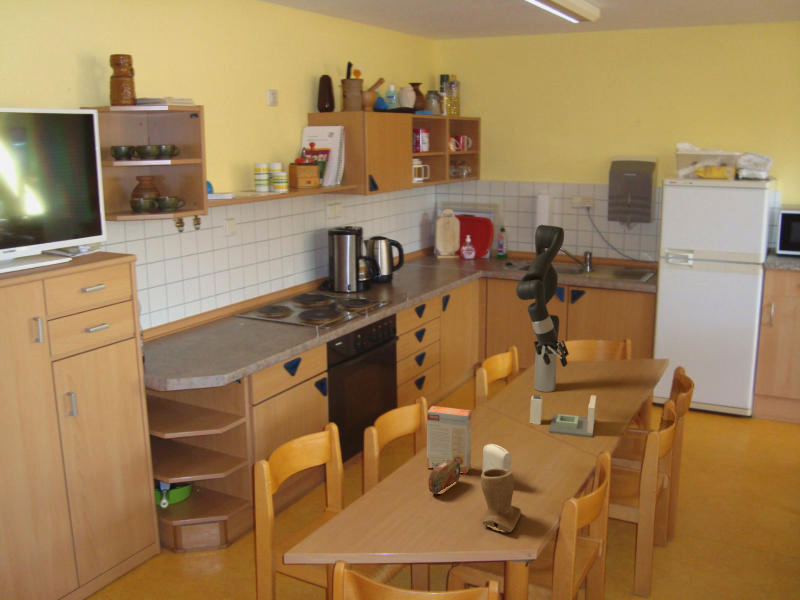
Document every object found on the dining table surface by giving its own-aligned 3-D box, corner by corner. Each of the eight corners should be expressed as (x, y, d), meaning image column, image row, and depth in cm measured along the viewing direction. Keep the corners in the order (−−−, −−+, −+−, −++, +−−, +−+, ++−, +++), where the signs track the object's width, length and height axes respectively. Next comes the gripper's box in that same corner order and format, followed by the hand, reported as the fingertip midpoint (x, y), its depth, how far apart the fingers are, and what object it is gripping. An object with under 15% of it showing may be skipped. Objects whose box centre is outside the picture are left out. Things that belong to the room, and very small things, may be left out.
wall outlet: (553, 415, 310) (554, 389, 307) (594, 420, 305) (596, 394, 303) (548, 432, 293) (550, 405, 290) (592, 437, 288) (594, 410, 286)
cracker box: (471, 467, 263) (472, 409, 259) (466, 475, 258) (468, 415, 253) (431, 461, 268) (432, 404, 263) (426, 469, 262) (426, 410, 257)
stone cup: (485, 505, 238) (487, 460, 234) (524, 512, 233) (526, 466, 230) (471, 529, 224) (472, 481, 221) (511, 537, 220) (513, 488, 216)
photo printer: (480, 477, 256) (481, 442, 253) (489, 474, 259) (490, 439, 256) (503, 489, 248) (504, 453, 245) (512, 485, 251) (513, 449, 248)
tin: (434, 499, 241) (435, 474, 240) (426, 496, 243) (426, 471, 241) (461, 481, 253) (461, 457, 251) (452, 479, 255) (453, 455, 253)
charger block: (531, 419, 305) (532, 393, 303) (541, 420, 304) (542, 394, 302) (529, 423, 302) (530, 397, 299) (540, 424, 301) (541, 398, 298)
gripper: (564, 324, 294) (576, 361, 298) (536, 322, 305) (548, 358, 310) (551, 334, 290) (564, 371, 295) (524, 331, 301) (537, 368, 306)
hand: (556, 364), depth 302 cm, fingers open, 8 cm apart
